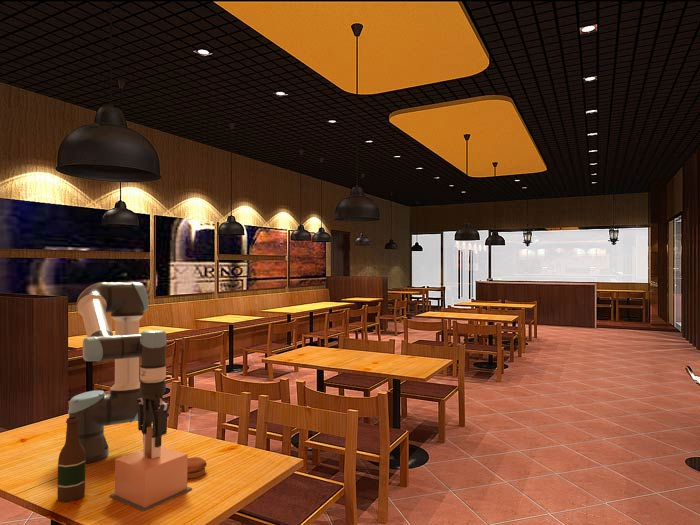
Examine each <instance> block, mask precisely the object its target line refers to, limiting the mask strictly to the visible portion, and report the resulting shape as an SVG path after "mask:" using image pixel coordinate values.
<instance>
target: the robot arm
mask: <svg viewBox="0 0 700 525" xmlns="http://www.w3.org/2000/svg"><path fill="white" fill-rule="evenodd" d="M76 309H77V312H78V314H79V315H80V316H82V320H83V325H84V329H85V333H86V337H85V338H83V341H82V358H83V360H84V361H86V362H101V361H111V360H114V384H113V385H112V386H111V387H110V389H109V390H110V392H109V393H105V391H104V390H99V389H97V390H89V391H85V392H82V393H79V394H76V395H74V396H73V397H72V398H71V399H70V400H69V402H68V404H69V405H68V411H67V413H68V418H70V417H79V422H78V427H79V440H80V443H81V445H82V446H83V447H84V450H85V465H86V464H91V463H95V462H99V461H101V460H103V459H105V458H106V457H108V456H109V454H110V452H109V444H108V442H107V439H106V436H105V431H104V430H105V427H106V426H108V427H109V426H112V425H119V424H125V423H133V422H136V421H137V429H138V432H139V431H141V434H142V443H143V445H142V448H143V449H142V450H143V456H146V446H147V427H148V426H151V425H153V433H154V435H153V436H152V456H151V458H152V459H154V458H156V457H159V456H161V446H162V436H165V435H167V431H168V430H167V429H168V418H169V417H168V412H169V409H170V403H169V402H165V401H164V396H163V395H164V393H165V392H166V388H167V384H166V378H167V343H168V340H167V333H166V331H165V330H162V329H148V330H143V331H141V332H140V321H141V319H142V318H143V317H144V312H147V311H148V310H149V297H148V292H147V289H146V286H145V285H144V283H142V282H139V281H137V282H136V281H118V282H117V281H116V282H114V281H111V282H106V281H102V282H96V283H94V284H90V285H89V286H88V287H86V288H85V289H84V290H82V292H81V293H80V294H79V295H78V298H77V300H76ZM108 313H110V318H111V319H112V320H113V321H114V329H115V330H114V332H113V329H112V326H111V323H110V319H109V316H108Z"/></svg>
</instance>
